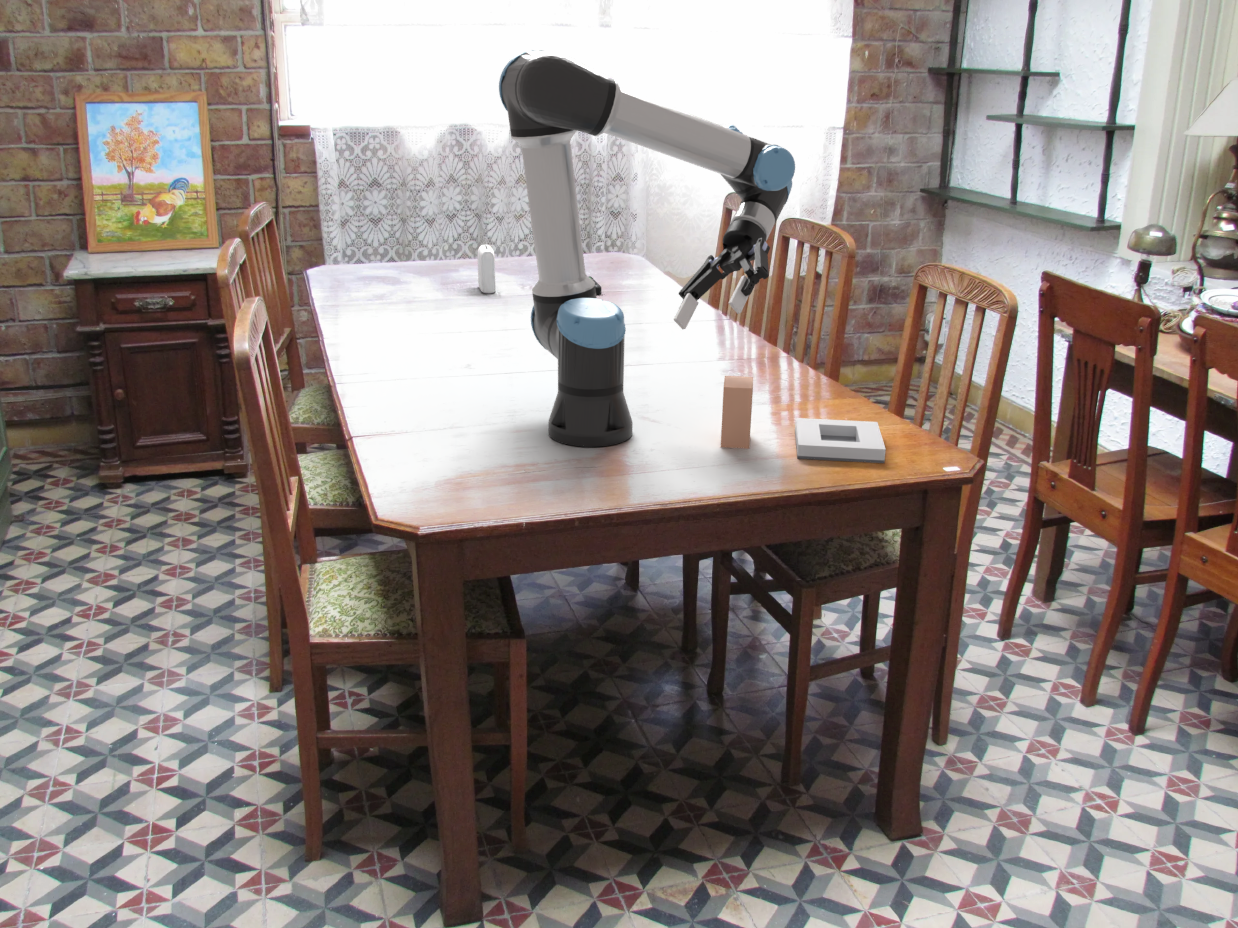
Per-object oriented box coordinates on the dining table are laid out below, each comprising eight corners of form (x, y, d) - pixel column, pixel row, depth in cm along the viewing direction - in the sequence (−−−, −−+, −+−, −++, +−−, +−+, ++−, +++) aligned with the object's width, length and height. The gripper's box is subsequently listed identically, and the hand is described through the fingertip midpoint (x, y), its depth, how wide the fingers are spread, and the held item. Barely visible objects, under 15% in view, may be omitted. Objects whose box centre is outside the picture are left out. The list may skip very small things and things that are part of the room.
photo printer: (477, 286, 321) (476, 242, 316) (492, 285, 322) (491, 242, 317) (481, 294, 311) (479, 248, 307) (496, 293, 312) (495, 248, 308)
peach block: (720, 447, 199) (723, 387, 196) (721, 434, 206) (724, 375, 202) (749, 448, 199) (752, 388, 195) (749, 435, 205) (753, 377, 202)
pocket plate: (797, 458, 195) (798, 444, 194) (794, 430, 208) (795, 417, 207) (884, 463, 193) (885, 449, 192) (876, 435, 207) (877, 421, 206)
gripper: (812, 229, 203) (772, 315, 193) (712, 263, 222) (670, 343, 212) (788, 199, 199) (746, 285, 189) (688, 236, 218) (645, 317, 208)
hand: (706, 316), depth 200 cm, fingers open, 13 cm apart
